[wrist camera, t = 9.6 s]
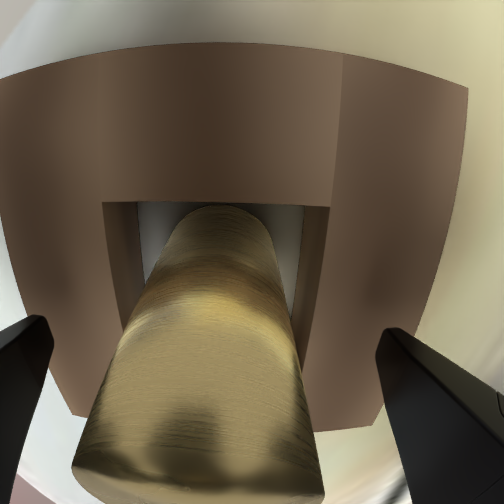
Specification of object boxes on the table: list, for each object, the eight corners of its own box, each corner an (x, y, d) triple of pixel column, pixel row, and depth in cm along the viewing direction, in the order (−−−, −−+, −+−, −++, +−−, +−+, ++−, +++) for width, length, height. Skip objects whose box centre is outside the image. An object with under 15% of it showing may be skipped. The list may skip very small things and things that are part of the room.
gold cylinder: (278, 206, 11) (358, 446, 3) (270, 303, 13) (301, 530, 5) (164, 203, 11) (27, 419, 3) (171, 299, 13) (113, 517, 4)
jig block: (419, 88, 9) (468, 88, 7) (356, 381, 15) (371, 425, 12) (40, 82, 9) (-9, 82, 6) (90, 372, 14) (72, 414, 12)
